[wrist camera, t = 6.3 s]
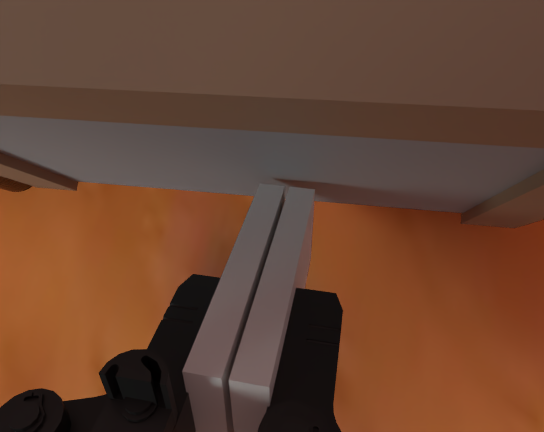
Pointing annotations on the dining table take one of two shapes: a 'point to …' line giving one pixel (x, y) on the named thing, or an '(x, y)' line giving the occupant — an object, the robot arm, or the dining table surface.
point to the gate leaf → (282, 99)
